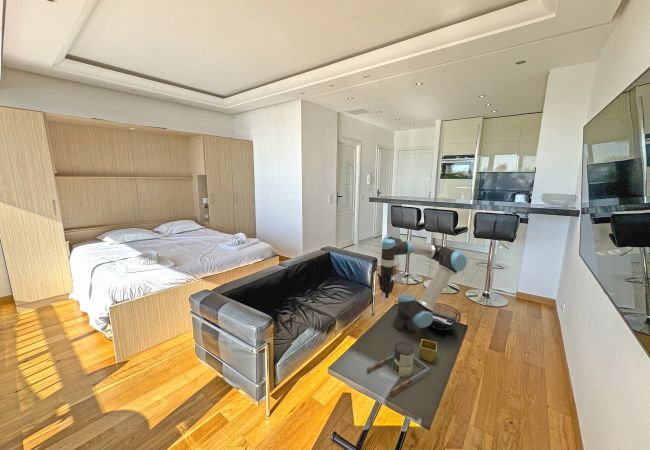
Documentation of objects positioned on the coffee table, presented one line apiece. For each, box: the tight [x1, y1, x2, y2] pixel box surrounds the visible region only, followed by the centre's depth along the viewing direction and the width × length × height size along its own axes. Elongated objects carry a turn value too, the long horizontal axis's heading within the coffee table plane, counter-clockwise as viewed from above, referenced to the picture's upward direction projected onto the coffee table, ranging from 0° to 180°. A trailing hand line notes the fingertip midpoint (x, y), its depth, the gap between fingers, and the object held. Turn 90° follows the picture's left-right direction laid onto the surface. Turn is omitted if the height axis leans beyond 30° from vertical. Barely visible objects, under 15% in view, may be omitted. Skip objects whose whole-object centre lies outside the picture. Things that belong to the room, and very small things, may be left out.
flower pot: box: [419, 338, 438, 363], centre depth 151 cm, size 9×9×9 cm
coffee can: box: [392, 340, 415, 378], centre depth 141 cm, size 10×10×14 cm
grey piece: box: [385, 354, 431, 386], centre depth 143 cm, size 15×18×3 cm
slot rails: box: [366, 358, 412, 397], centre depth 136 cm, size 14×18×3 cm
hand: (384, 302), depth 157 cm, fingers closed
